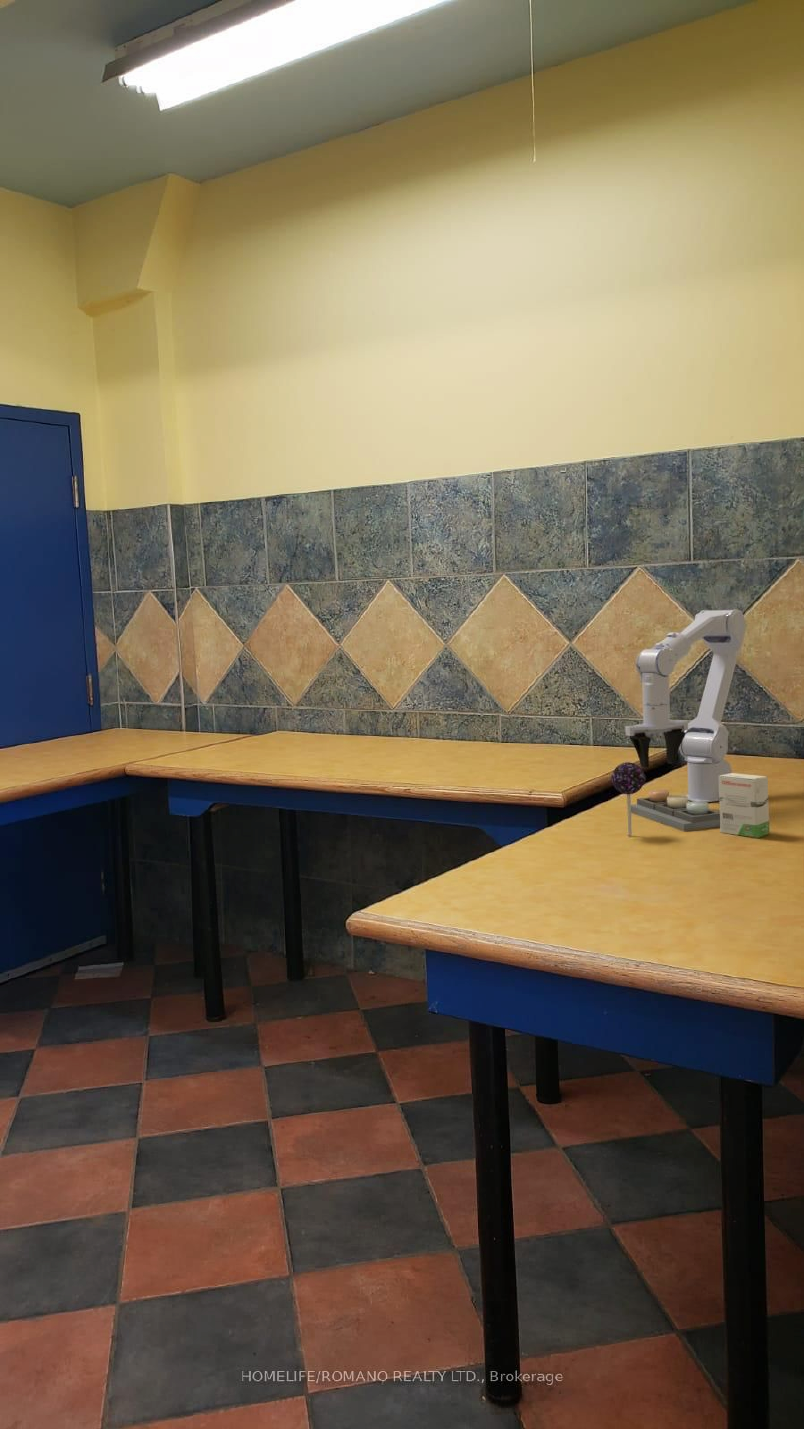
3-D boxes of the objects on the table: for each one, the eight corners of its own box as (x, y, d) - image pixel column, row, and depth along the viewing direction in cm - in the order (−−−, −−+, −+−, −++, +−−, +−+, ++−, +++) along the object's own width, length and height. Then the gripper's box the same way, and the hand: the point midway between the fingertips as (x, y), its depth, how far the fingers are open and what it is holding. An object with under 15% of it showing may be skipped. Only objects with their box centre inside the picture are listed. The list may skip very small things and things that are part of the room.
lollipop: (650, 838, 215) (648, 764, 213) (615, 840, 215) (613, 766, 214) (643, 830, 222) (641, 758, 220) (610, 832, 222) (607, 760, 220)
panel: (672, 806, 244) (672, 794, 243) (730, 824, 223) (730, 812, 223) (629, 811, 240) (628, 799, 240) (684, 831, 220) (683, 818, 219)
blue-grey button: (700, 808, 227) (700, 800, 227) (712, 812, 223) (712, 804, 223) (682, 811, 226) (682, 802, 226) (694, 815, 222) (694, 806, 221)
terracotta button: (662, 796, 241) (662, 789, 241) (673, 800, 237) (672, 792, 237) (645, 799, 240) (644, 791, 240) (655, 802, 236) (655, 794, 236)
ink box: (770, 834, 214) (770, 775, 212) (756, 839, 210) (755, 779, 209) (732, 828, 220) (731, 771, 219) (718, 832, 217) (717, 774, 216)
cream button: (681, 802, 234) (680, 794, 234) (692, 806, 230) (692, 798, 230) (663, 805, 233) (662, 796, 233) (674, 808, 229) (674, 800, 228)
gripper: (675, 699, 242) (676, 759, 244) (617, 705, 238) (619, 766, 239) (692, 702, 235) (694, 763, 237) (634, 708, 231) (635, 770, 233)
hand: (658, 765), depth 238 cm, fingers open, 6 cm apart
